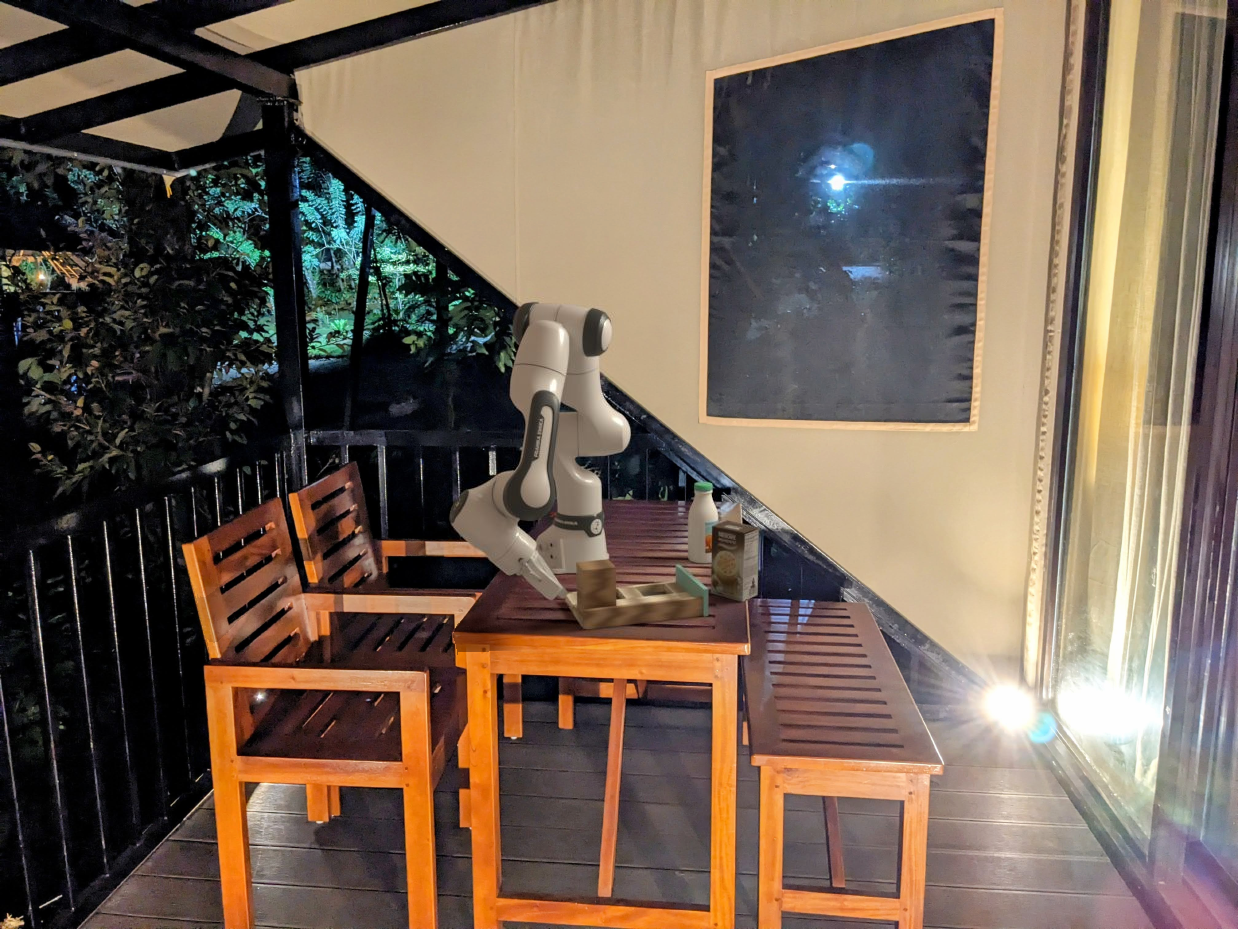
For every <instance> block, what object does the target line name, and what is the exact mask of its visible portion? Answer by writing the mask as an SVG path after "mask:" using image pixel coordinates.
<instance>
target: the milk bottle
mask: <svg viewBox="0 0 1238 929" xmlns="http://www.w3.org/2000/svg"><path fill="white" fill-rule="evenodd" d="M713 486H714V485H713V483H711V482H709V481H699V482H695V483H694V486H693V489H694V491H693V492H694V498H693V502H692V503H691V505H690V508H689V511H688V515H687V516H688V518H687V558H688V560H689V561H690V562H691V563H695V564H711V561H712V526H714V525H716V524H719V512H718V509H717V507H716V505H715V503H714V500H713V497H712V493H713Z"/></svg>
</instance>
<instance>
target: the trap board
mask: <svg viewBox="0 0 1238 929" xmlns="http://www.w3.org/2000/svg"><path fill="white" fill-rule="evenodd" d="M567 592H568V591H567ZM564 602H565V604H566V603H567V604H566V605H567V607H568V606H569V607H568V608H569V609H570V611H571V613H572V614H573V615H574V617H575V618H576V620H577V622H578V623H579V624H580V626H581V628H582V627H583V628H582V629H583V630H584V629H587V630H594V629H602V628H611V627H620V626H627V625H635V624H645V623H654V622H660V621H669V620H677V619H685V618H686V619H687V618H695V617H704V616H703V597H702V596H699V597H692V596H691V595H690V594H689V593H688V592H686V591H685V590H684V589H683V588H682V587H681V586H680V585H679V584H678V583H677V582H676V580H673V581H663V582H654V583H644V584H635V585H625V586H618V587H617V586H616V606H610V607H601V608H593V609H584V610H582V614H581V612H580V611H579V609H578V608H577V591H569V592H568V594H567V595H566V597H565V598H564Z"/></svg>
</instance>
